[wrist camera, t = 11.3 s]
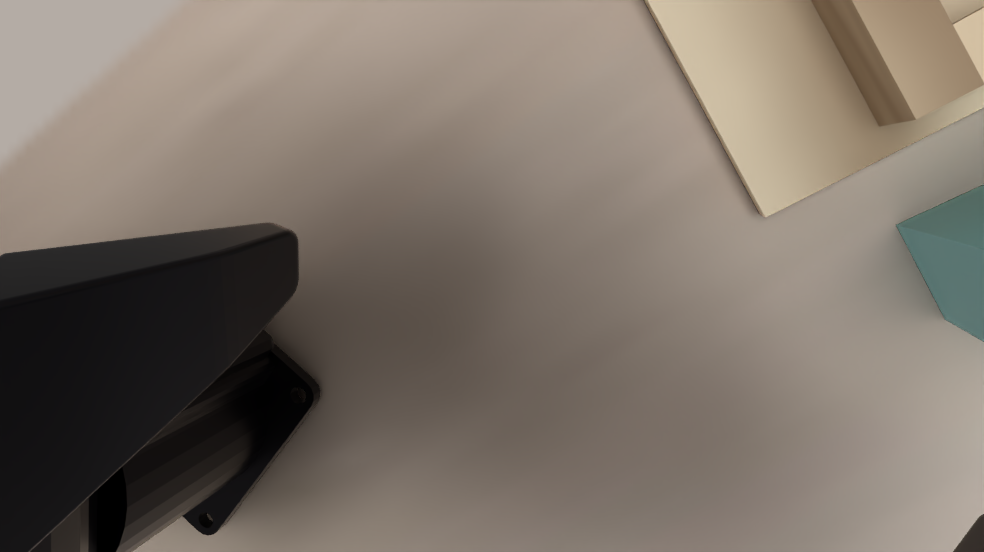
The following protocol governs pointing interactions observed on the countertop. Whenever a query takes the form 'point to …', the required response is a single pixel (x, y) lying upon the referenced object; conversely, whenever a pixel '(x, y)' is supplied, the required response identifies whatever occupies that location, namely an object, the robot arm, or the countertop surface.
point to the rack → (824, 81)
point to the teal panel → (952, 257)
